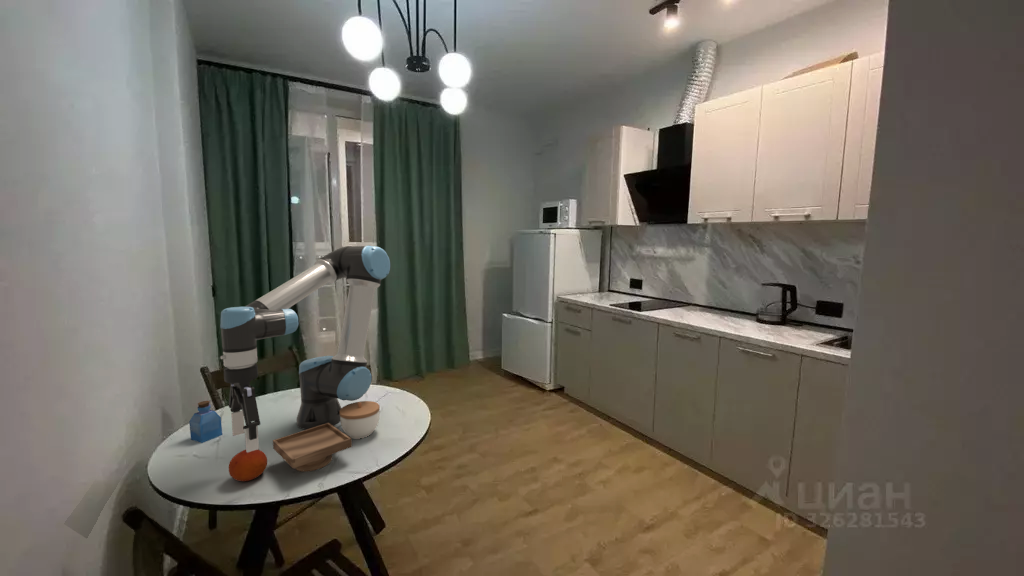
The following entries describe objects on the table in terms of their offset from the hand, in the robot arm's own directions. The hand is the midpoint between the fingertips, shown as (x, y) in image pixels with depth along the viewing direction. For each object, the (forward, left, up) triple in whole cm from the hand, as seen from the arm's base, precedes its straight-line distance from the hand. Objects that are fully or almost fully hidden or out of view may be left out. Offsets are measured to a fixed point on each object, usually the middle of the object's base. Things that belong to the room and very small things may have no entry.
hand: (245, 442), depth 110 cm
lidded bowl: (-2, +33, -11) cm, 35 cm away
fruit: (0, 0, -11) cm, 11 cm away
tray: (+5, +15, -10) cm, 19 cm away
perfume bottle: (-38, -3, -11) cm, 40 cm away
